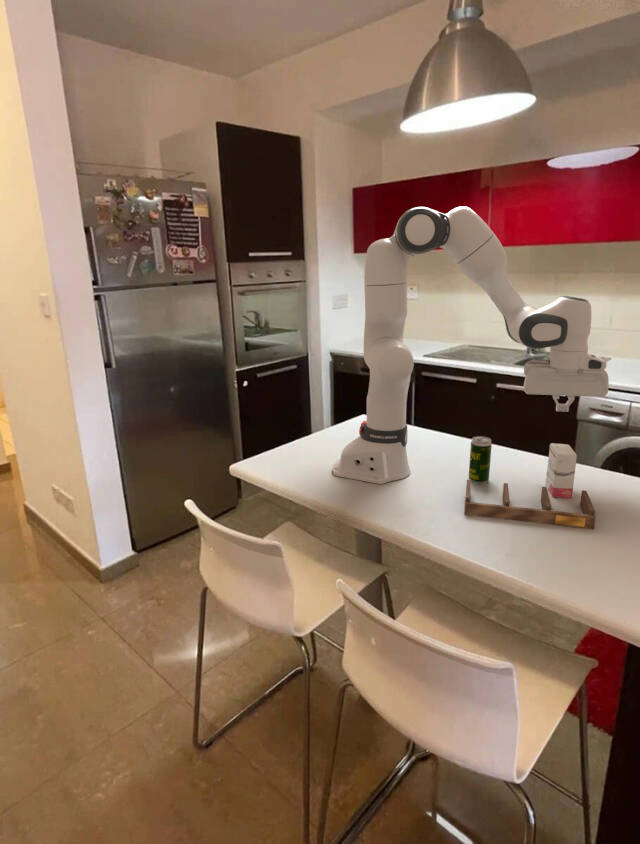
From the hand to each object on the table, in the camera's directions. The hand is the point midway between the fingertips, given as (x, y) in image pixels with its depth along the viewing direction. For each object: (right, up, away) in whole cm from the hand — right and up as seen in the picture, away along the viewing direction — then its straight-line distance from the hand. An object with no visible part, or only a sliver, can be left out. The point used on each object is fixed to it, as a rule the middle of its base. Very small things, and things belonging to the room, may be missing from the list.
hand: (561, 411), depth 137 cm
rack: (-15, -24, -13) cm, 31 cm away
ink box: (-3, -21, -3) cm, 22 cm away
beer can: (-21, -19, +4) cm, 29 cm away
